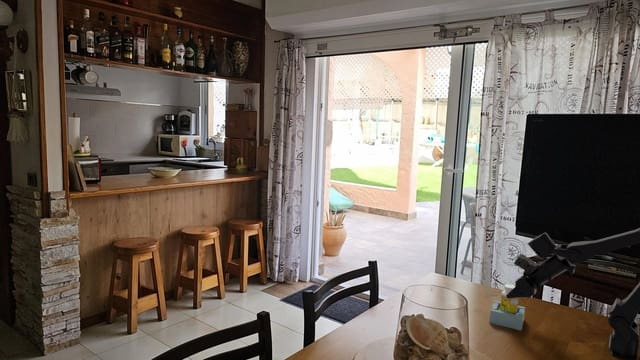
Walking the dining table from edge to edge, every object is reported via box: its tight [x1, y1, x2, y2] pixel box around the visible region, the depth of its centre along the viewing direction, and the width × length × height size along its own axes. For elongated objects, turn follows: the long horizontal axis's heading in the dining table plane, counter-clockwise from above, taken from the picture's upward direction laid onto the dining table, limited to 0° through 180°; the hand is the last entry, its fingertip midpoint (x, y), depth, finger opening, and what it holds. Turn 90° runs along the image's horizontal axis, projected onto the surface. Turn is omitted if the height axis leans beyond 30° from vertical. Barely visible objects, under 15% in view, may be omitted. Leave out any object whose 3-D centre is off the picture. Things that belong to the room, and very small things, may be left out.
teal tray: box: [489, 300, 526, 331], centre depth 149 cm, size 10×10×4 cm
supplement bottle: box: [500, 284, 519, 315], centre depth 148 cm, size 5×5×10 cm
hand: (510, 293), depth 148 cm, fingers open, 9 cm apart
